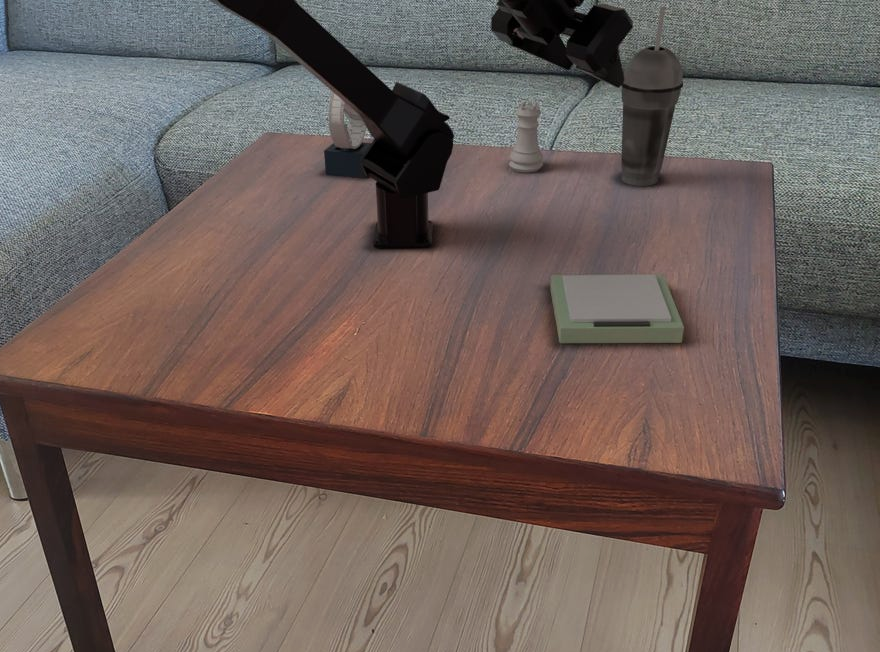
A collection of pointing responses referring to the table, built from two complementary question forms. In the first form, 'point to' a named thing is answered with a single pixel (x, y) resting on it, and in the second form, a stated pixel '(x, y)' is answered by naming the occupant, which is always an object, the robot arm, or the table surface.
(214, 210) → the table surface
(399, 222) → the robot arm
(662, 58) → the beverage cup
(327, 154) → the watch
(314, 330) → the table surface
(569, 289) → the scale
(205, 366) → the table surface
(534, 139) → the rook chess piece
